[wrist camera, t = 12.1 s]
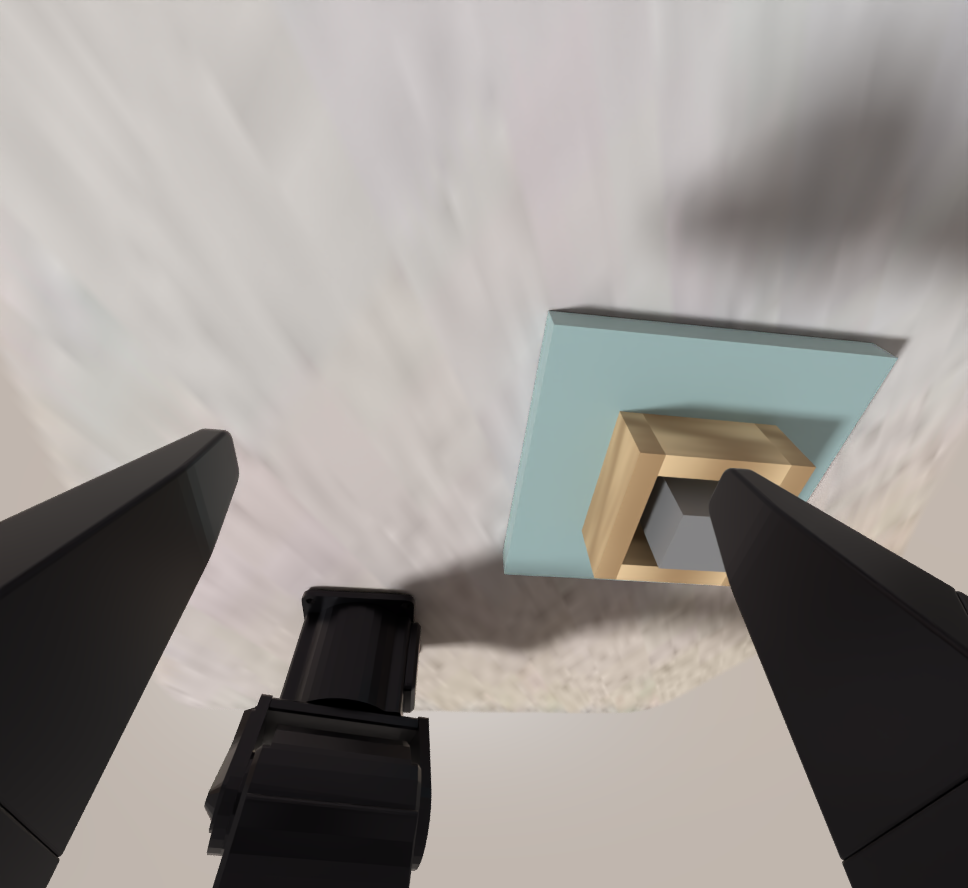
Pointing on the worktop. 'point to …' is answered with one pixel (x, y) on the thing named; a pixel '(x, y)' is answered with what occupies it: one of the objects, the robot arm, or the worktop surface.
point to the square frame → (674, 453)
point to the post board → (673, 392)
